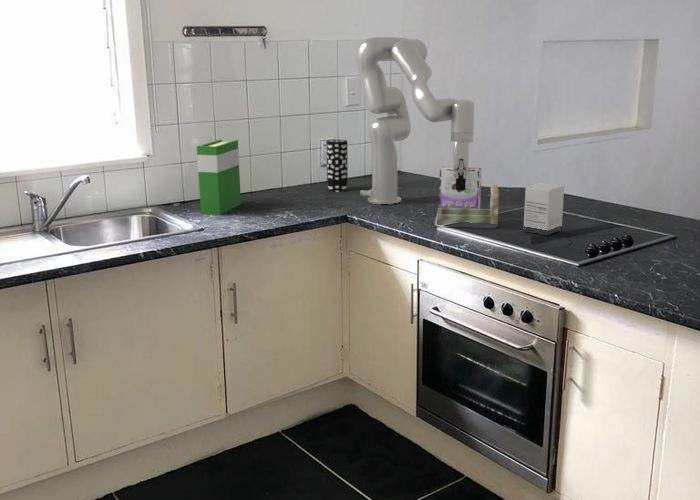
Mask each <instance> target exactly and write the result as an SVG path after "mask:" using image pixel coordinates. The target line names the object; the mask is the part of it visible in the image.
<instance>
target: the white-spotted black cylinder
mask: <svg viewBox="0 0 700 500" xmlns="http://www.w3.org/2000/svg"><path fill="white" fill-rule="evenodd" d="M348 164H349V163H348V140H346V139H328V140H326V177H327V178H326V184H327V185H326V187H327V188H326V189H327V191H328V192H330V193H344V192H347V191H348V190H349V187H348V186H349V184H348V183H349V181H348V177H349V174H348Z"/></svg>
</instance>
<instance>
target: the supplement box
mask: <svg viewBox="0 0 700 500" xmlns="http://www.w3.org/2000/svg"><path fill="white" fill-rule="evenodd" d="M564 196H565V186H564V185H563V184H561V185H560V184H554V183H546V182H538V183H534V184H531V185H526V186H525V194H524V197H525V198H524V212H523V213H524V214H523V215H524V216H523V227H524V226H525V227H531V228H537V229H542V230H547V231H548V230H551V229H554V228H556V227H559V226H562V227H563V216H564V215H563V212H564Z"/></svg>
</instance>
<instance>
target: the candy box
mask: <svg viewBox="0 0 700 500" xmlns="http://www.w3.org/2000/svg"><path fill="white" fill-rule="evenodd" d="M458 170H459V169H458ZM463 170H464V169H463ZM458 176H459V175H458ZM456 178H457V170H455V171H453V166H442V167H441V168H439V191H438V192H439V193H438V194H439V195H438V196H439V197H438V198H439V204H438V205H439V206H438V208H468V209H481V198H482V197H481V194H482V167H467V171H465V179H466V180H465V190H456Z"/></svg>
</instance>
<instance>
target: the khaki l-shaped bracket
mask: <svg viewBox="0 0 700 500" xmlns="http://www.w3.org/2000/svg"><path fill="white" fill-rule="evenodd" d="M499 197H500V192H499V188H498V185H490V198H489V199H490V200H489V208H480V209H468V208H439V207H437V212H436V215H435V222H434V224H435V225H438V224H447V223H455V222H470V223H491V224H497V225H498V221H499V219H498V217H499V216H498V215H499V199H500V198H499ZM435 225H434V226H435Z"/></svg>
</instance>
